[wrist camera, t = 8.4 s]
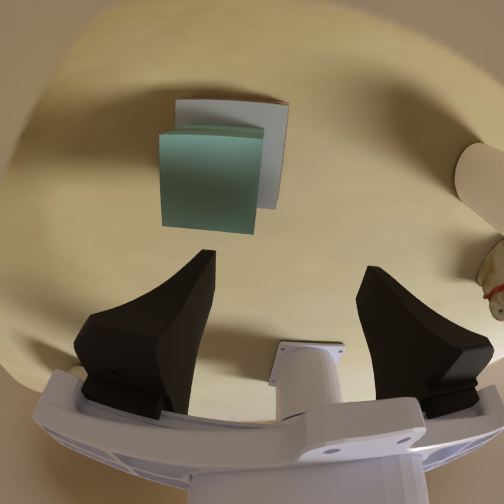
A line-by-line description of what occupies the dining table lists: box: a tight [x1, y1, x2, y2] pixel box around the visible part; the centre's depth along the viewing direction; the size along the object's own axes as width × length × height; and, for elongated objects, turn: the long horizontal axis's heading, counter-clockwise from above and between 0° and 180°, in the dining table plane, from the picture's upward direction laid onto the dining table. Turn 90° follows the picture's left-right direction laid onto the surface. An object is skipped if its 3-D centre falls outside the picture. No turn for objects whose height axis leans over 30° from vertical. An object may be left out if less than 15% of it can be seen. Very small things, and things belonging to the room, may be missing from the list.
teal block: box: [159, 124, 265, 235], centre depth 14 cm, size 4×4×4 cm
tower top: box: [175, 99, 289, 210], centre depth 17 cm, size 6×6×2 cm
